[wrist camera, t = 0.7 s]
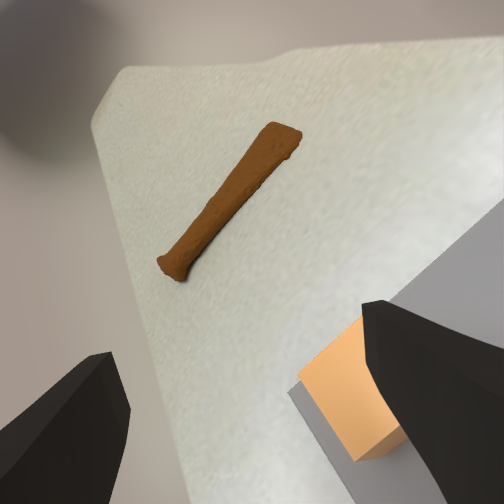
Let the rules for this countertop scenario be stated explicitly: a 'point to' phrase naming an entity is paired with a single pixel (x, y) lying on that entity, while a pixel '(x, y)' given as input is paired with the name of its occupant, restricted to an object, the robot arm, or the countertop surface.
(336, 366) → the wooden cube
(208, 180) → the countertop surface
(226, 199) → the primitive tool
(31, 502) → the robot arm
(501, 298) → the board
